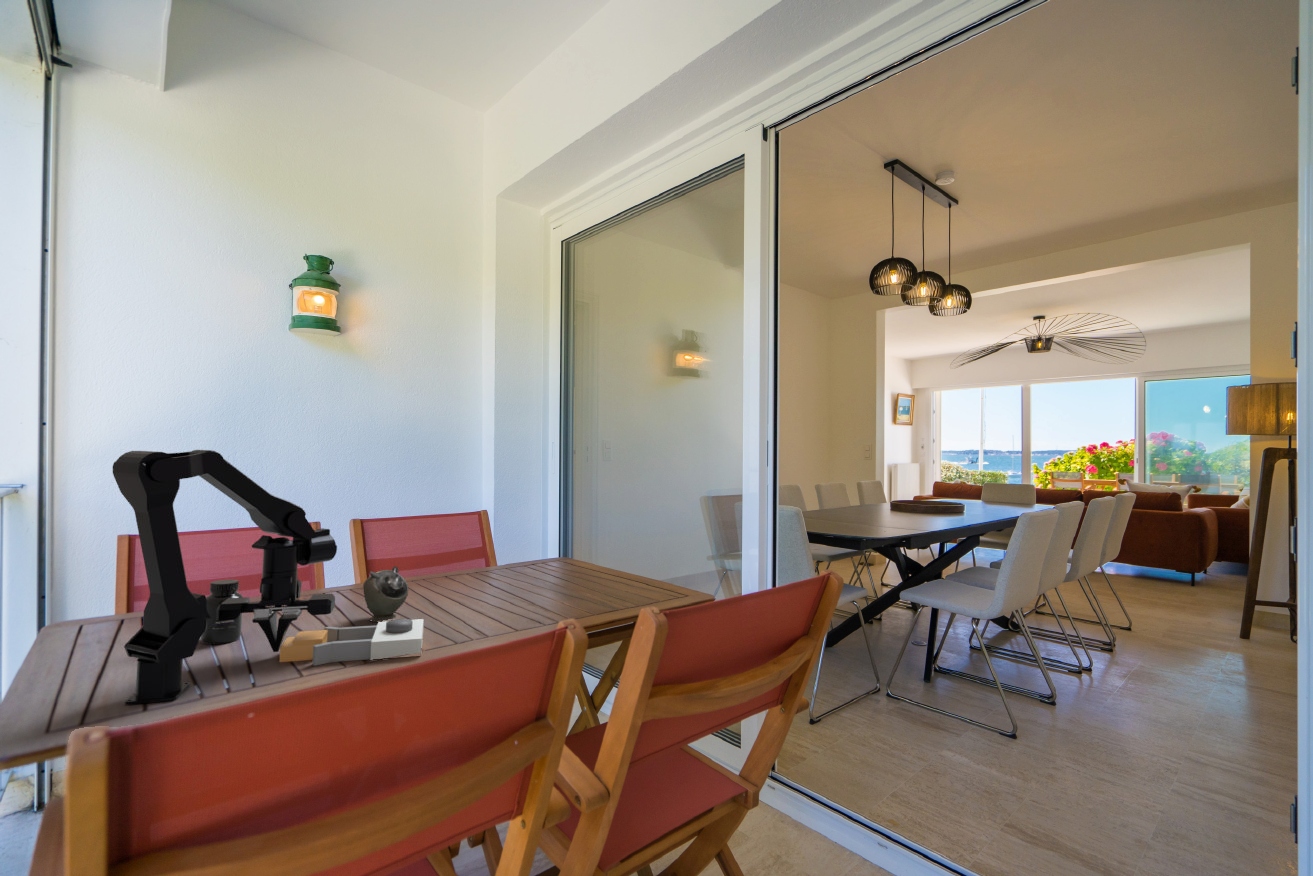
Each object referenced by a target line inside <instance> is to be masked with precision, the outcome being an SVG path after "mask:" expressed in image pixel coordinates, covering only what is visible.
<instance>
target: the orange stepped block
mask: <svg viewBox="0 0 1313 876" xmlns="http://www.w3.org/2000/svg"><path fill="white" fill-rule="evenodd" d="M327 635H328V630H324V629H322V630H321V629H320V630H304V631H298V633H297V634H296V636H290V637H289V636H288V637H287V638H286V639H284V640H283V642H282V645H281V647H280V650H279V663H287V662H300V661H313V645H317V644H322V643H327Z"/></svg>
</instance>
